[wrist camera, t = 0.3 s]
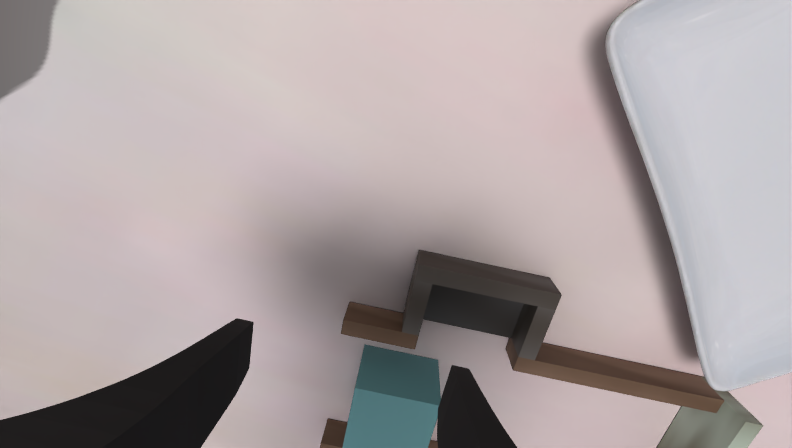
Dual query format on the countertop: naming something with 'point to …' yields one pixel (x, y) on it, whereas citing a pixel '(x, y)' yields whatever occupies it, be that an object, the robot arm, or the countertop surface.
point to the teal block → (393, 401)
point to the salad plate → (718, 167)
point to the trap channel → (542, 347)
